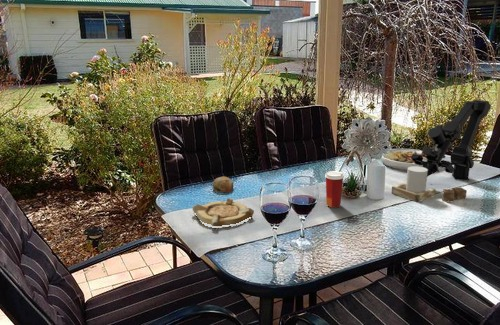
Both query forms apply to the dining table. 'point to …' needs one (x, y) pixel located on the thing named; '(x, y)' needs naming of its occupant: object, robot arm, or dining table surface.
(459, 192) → the walnut block
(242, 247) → the dining table surface
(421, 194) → the open wooden frame
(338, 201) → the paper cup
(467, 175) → the robot arm
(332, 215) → the dining table surface
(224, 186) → the bread roll
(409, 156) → the bowl
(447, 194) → the walnut block
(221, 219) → the ashtray
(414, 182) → the cup
